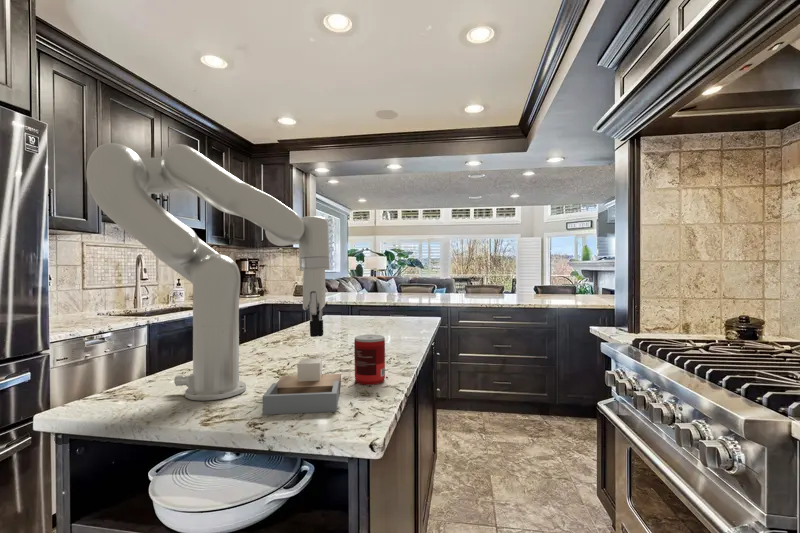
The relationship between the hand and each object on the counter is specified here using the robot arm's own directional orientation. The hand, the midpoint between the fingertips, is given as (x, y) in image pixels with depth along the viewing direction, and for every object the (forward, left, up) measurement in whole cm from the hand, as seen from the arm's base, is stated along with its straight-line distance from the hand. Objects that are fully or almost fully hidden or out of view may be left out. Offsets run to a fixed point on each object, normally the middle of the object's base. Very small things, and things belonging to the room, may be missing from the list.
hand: (316, 335), depth 100 cm
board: (-1, -11, -11) cm, 15 cm away
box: (-1, -20, -11) cm, 23 cm away
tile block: (-1, -9, -9) cm, 12 cm away
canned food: (+13, -4, -11) cm, 18 cm away
